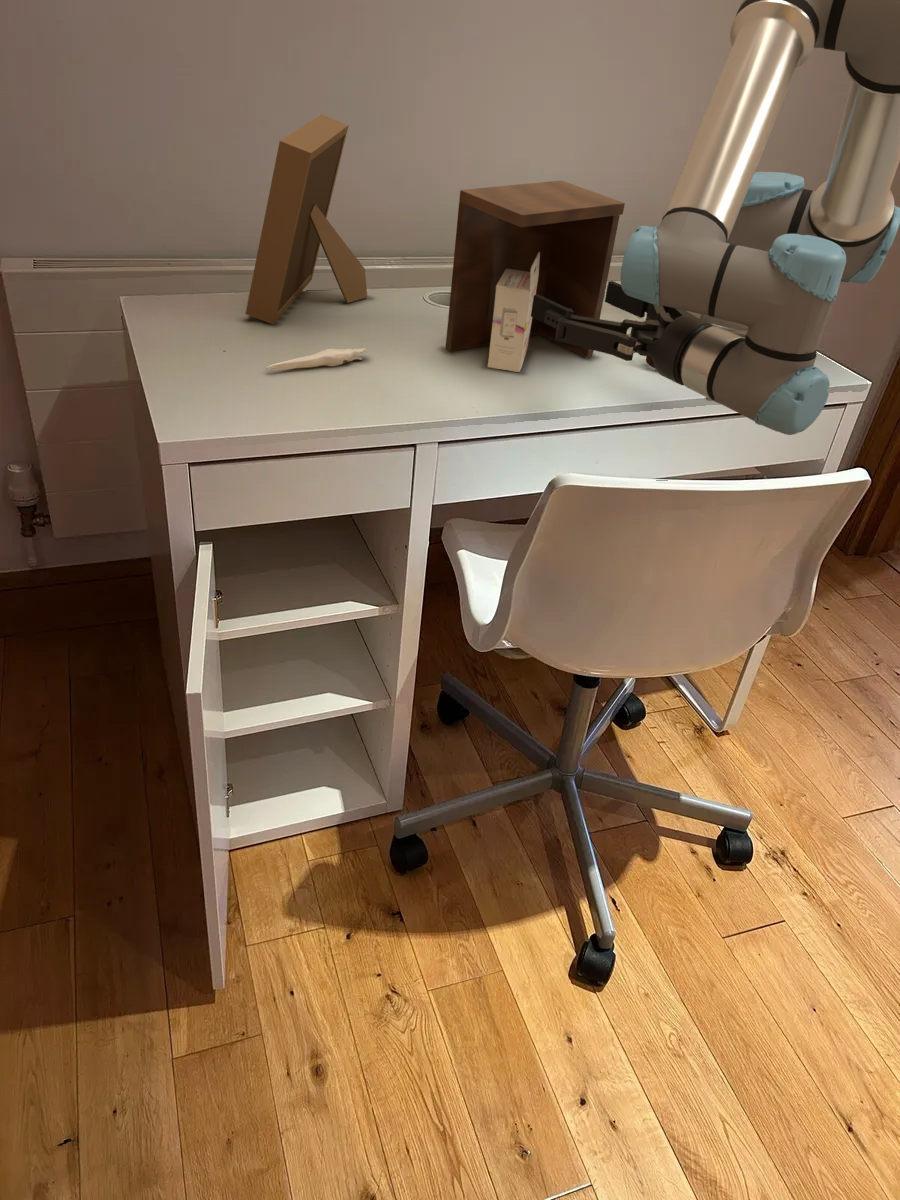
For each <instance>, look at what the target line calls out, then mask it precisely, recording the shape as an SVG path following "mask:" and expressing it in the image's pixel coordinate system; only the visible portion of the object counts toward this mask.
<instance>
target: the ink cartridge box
mask: <svg viewBox="0 0 900 1200" xmlns="http://www.w3.org/2000/svg"><path fill="white" fill-rule="evenodd" d="M539 261H540V252H538V254H537V256H536V258H535V260H534V262H533V264H532V266H531V271H530V272H527V271H520V270H514V269H507V268H506V270H505V271H504V273H503V275H502V276H501V278H500V280H499V282H498V283H497V285H496V295H495V304H494V314H493V323H492V332H491V341H490V344H489V351H488V360H487V368H491V369H496V370H502V371H509V372H515V373H520V372H521V369H522V367H523V363H524V360H525V359H526V355H527V352H528V348H529V341H530V336H531V335H530V329H531V323H532V317H531V311H532V304H533V298H534V295H536V289H537V283H538V276H539ZM535 267H536V270H535ZM534 270H535V272H534Z"/></svg>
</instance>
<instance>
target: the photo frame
mask: <svg viewBox="0 0 900 1200" xmlns="http://www.w3.org/2000/svg"><path fill="white" fill-rule="evenodd" d="M348 129H349V124H347V123H344V122H341V121H339V120H336V119H334V118H332V117H329V116H326V115H324V114H319V115H318V116H316V117H315V118H313V119H311V120H310V121H308V122H306V123H305V124H304V125H302V126H300V127H299V128H297V129H296V130H294V131H293V132H291V133H290V134H288V135H286V136H285V137H283V138H282V139H280V140H279V142H278V147H277V151H276V152H277V153H276V158H275V162H274V168H273V173H272V179H271V184H270V188H269V192H268V197H267V203H266V207H265V214H264V217H263V222H262V229H261V235H260V238H259V243H258V248H257V254H256V260H255V264H254V268H253V274H252V278H251V283H250V289H249V293H248V299H247V303H246V304H247V305H246V308H245V315H247V316H250V317H252V318H255V319H258V320H261V321H263V322H266V323H268V324H271V325H275V324H276V322H278V320H279V319H280V318H281V316H282V315H283V314H284V313H285V312H286V311H287V310H288V308H289V307H290V306H291V305H292V304H293V302H295V300H296V299H297V298H298V297H299V295H301V294H302V292H303V291H304V290H305V288H306V287H307V286H308V285H309V284H310V283H311V281H312V280H313V276H314V273H315V269H316V264H317V259H318V255H319V252H320V247H322V250H323V252H324V255H325V257H326V259H327V262H328V264H329V266H330V269H331V271H332V273H333V276H334V279H335V280H336V283H337V285H338V287H339V290H340V292H341V294H342V297H343V299H344V301H345V303H346V304H350V303H352V302H355V301H359V300H362V299H365V298H368V288H367V287H368V286H367V277H366V276H367V275H366V269H365V267H364V265H363V264H362V263H361V262H360V261H359V259H358V258H357V256H356V255H355V253H353V251H352V250H351V249H350V247H349V246H348V245H347V244H346V241H344V240H343V238H342V237H341V236H340V234H339V233H338V232H337V230H336V229H335V228H334V227H333V225H332V224H331V223H330V221H329V220H328V219H327V217H328V214H329V210H330V205H331V201H332V197H333V194H334V193H333V192H334V188H335V184H336V180H337V177H338V176H337V175H338V172H339V168H340V164H341V158H342V155H343V150H344V147H345V142H346V137H347V134H348Z"/></svg>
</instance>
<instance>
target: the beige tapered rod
mask: <svg viewBox="0 0 900 1200" xmlns="http://www.w3.org/2000/svg"><path fill="white" fill-rule="evenodd" d="M364 353H367V349H366V348H365V347H362V348H361V347H360V348H356V349H354V348H345V349H343V348H342V349H340V348H326V349H324V350H321V351H320V352H316V353H314V354H310V355H304V356H300V357H296V358H293V359H288V360H284V361H280V362H277V363H273V364H270V365H267V366H266V367H265V369H266V370H267V369H268V370H289V369H291V370H292V369H301V368H302V369H303V368H315V367H321V366H328V367H337V366H340V365H343V364H345V363H348V362H352V361H354V360H360V361H363V360H364V358H363V357H361V356H358V355H361V354H364Z"/></svg>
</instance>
